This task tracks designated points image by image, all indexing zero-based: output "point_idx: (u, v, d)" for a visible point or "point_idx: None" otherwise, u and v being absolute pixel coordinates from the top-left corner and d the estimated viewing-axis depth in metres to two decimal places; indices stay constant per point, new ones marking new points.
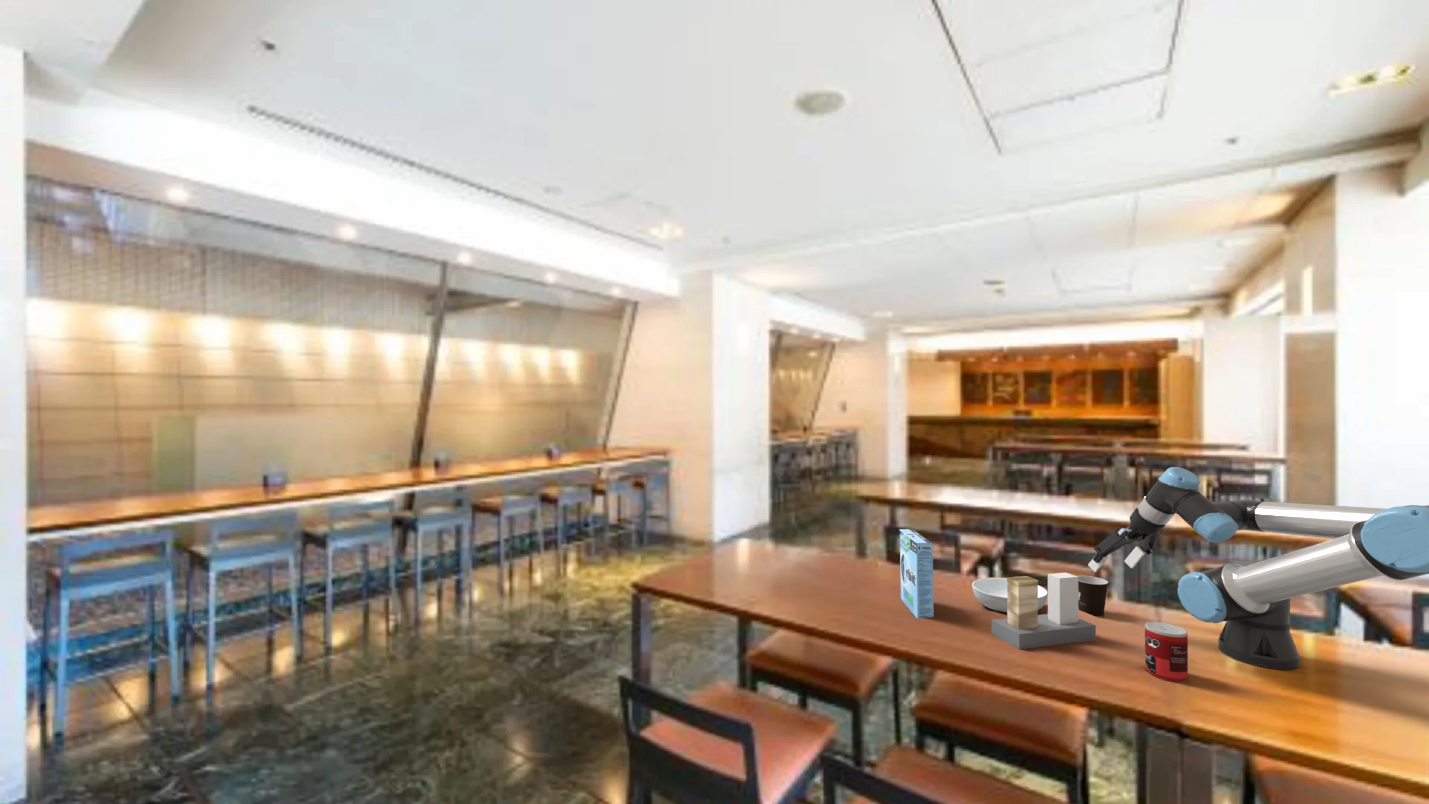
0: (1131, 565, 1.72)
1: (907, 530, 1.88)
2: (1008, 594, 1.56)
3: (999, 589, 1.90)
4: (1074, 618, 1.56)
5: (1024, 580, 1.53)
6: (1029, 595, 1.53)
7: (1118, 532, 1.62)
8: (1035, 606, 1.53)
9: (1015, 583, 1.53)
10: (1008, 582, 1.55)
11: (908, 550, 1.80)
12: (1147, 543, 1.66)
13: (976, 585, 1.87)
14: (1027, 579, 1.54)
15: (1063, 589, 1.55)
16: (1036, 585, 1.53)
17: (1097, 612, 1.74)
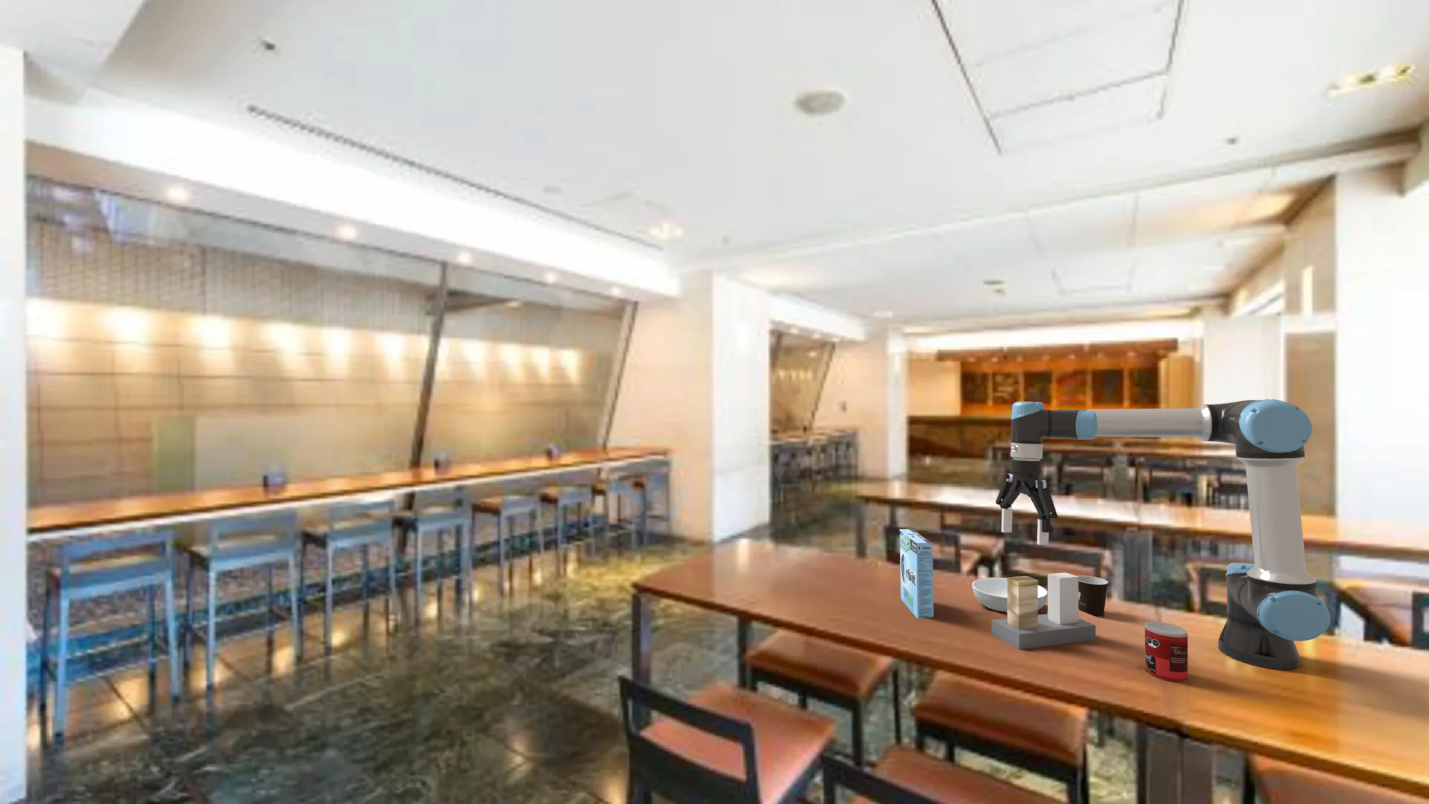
0: (1010, 529, 1.63)
1: (907, 530, 1.88)
2: (1008, 594, 1.56)
3: (999, 589, 1.90)
4: (1074, 618, 1.56)
5: (1024, 580, 1.53)
6: (1029, 595, 1.53)
7: (1043, 486, 1.49)
8: (1035, 606, 1.53)
9: (1015, 583, 1.53)
10: (1008, 582, 1.55)
11: (908, 550, 1.80)
12: None
13: (976, 585, 1.87)
14: (1027, 579, 1.54)
15: (1063, 589, 1.55)
16: (1036, 585, 1.53)
17: (1097, 612, 1.74)
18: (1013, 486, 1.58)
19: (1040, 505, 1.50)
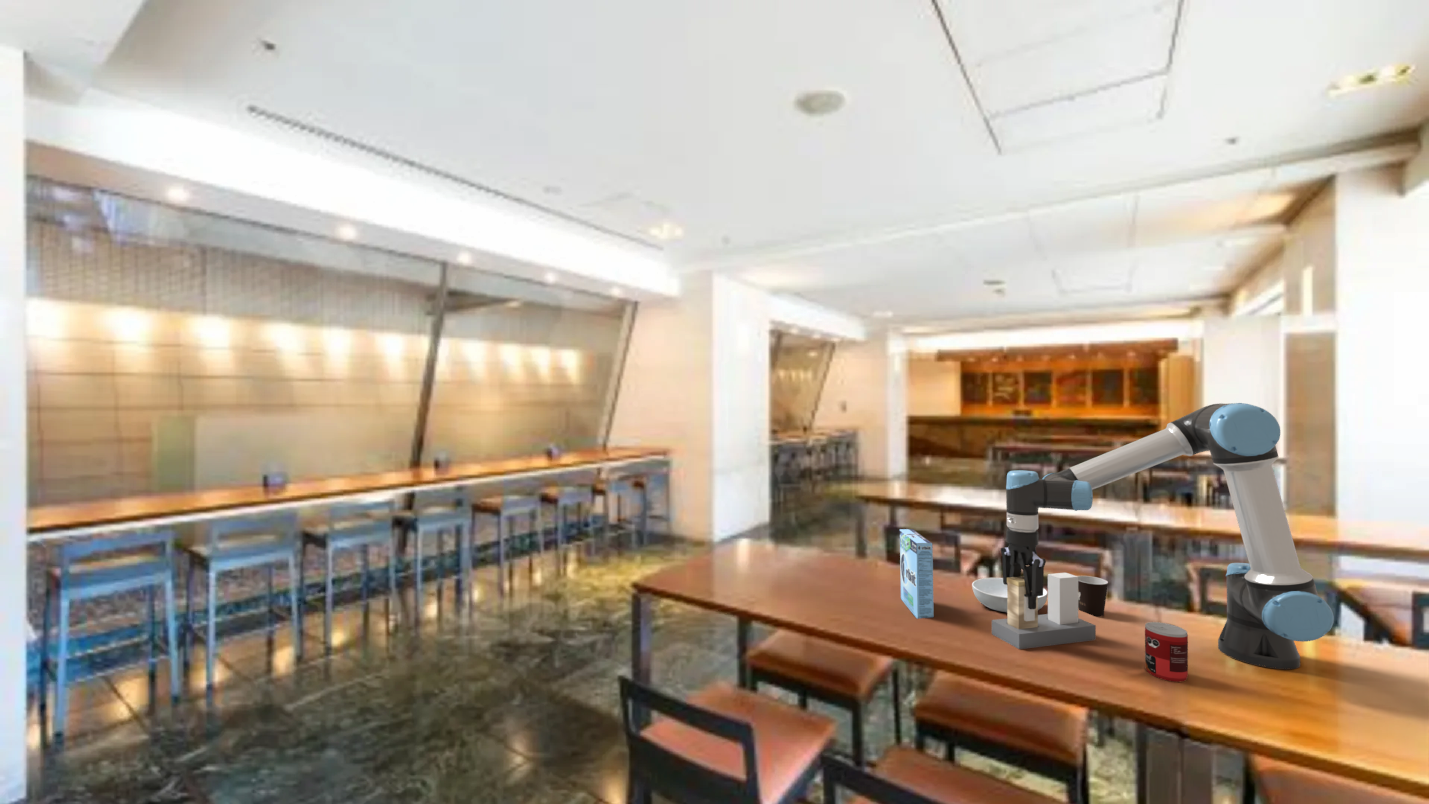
0: None
1: (907, 530, 1.88)
2: (1008, 594, 1.56)
3: (999, 589, 1.90)
4: (1074, 618, 1.56)
5: None
6: None
7: (1039, 566, 1.49)
8: None
9: (1015, 583, 1.53)
10: (1008, 582, 1.55)
11: (908, 550, 1.80)
12: None
13: (976, 585, 1.87)
14: None
15: (1063, 589, 1.55)
16: None
17: (1097, 612, 1.74)
18: (1012, 558, 1.56)
19: (1030, 582, 1.51)
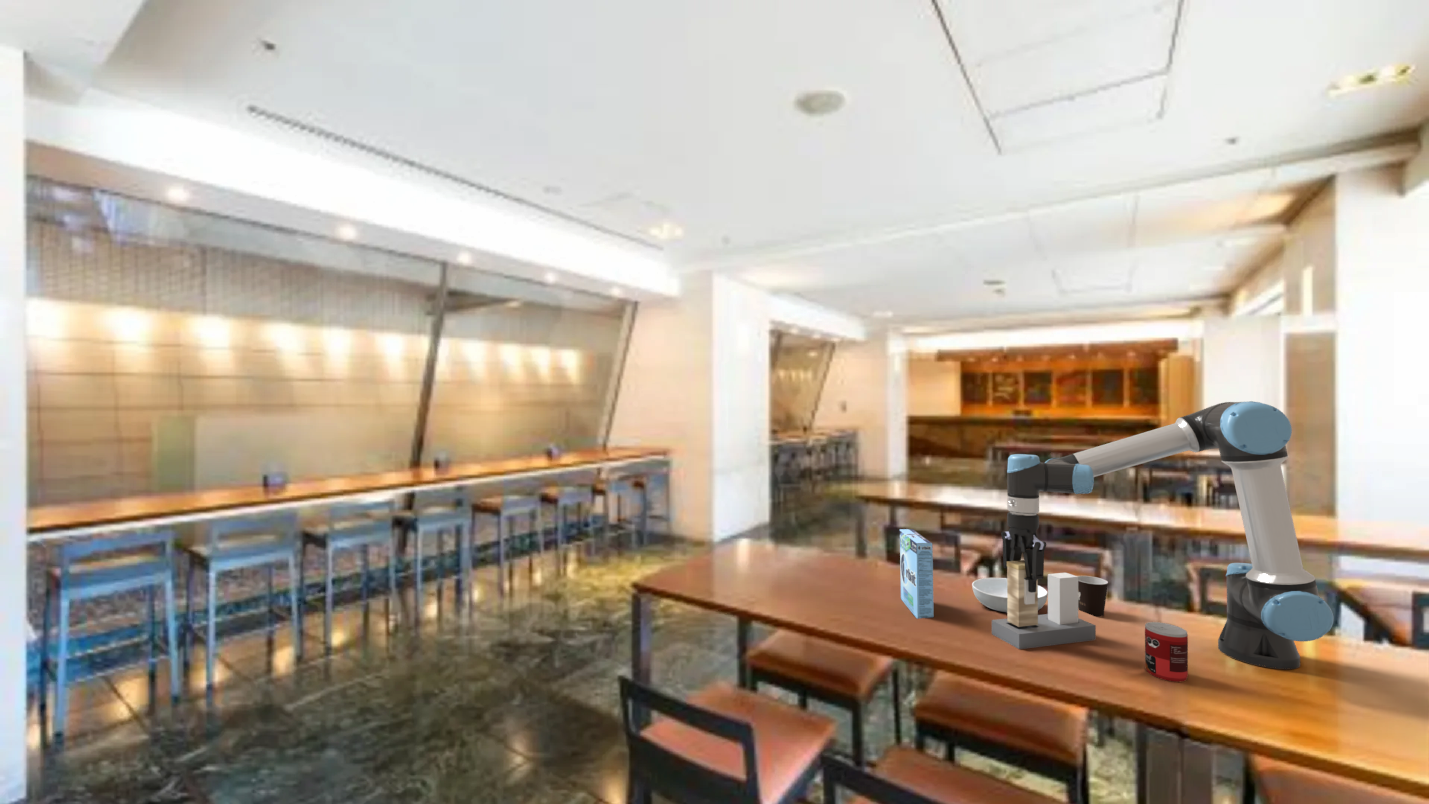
0: None
1: (907, 530, 1.88)
2: (1008, 578, 1.56)
3: (999, 589, 1.90)
4: (1074, 618, 1.56)
5: (1024, 564, 1.53)
6: None
7: (1039, 548, 1.49)
8: None
9: (1015, 567, 1.53)
10: (1008, 566, 1.55)
11: (908, 550, 1.80)
12: None
13: (976, 585, 1.87)
14: None
15: (1063, 589, 1.55)
16: None
17: (1097, 612, 1.74)
18: (1012, 542, 1.56)
19: (1030, 565, 1.51)
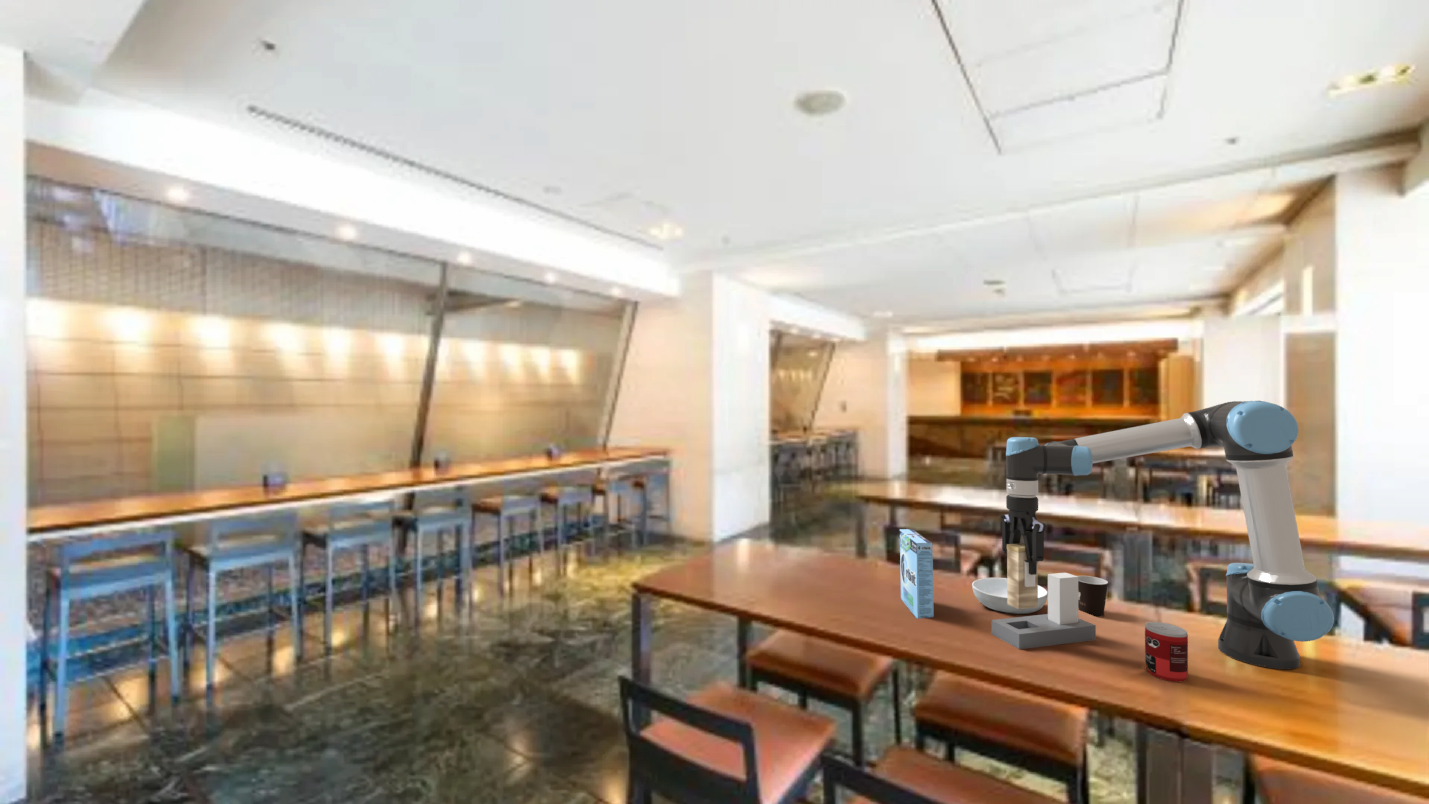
0: None
1: (907, 530, 1.88)
2: (1008, 561, 1.56)
3: (999, 589, 1.90)
4: (1074, 618, 1.56)
5: (1024, 546, 1.53)
6: None
7: (1039, 530, 1.49)
8: None
9: (1015, 549, 1.53)
10: (1008, 549, 1.55)
11: (908, 550, 1.80)
12: None
13: (976, 585, 1.87)
14: None
15: (1063, 589, 1.55)
16: None
17: (1097, 612, 1.74)
18: (1012, 524, 1.56)
19: (1030, 548, 1.51)
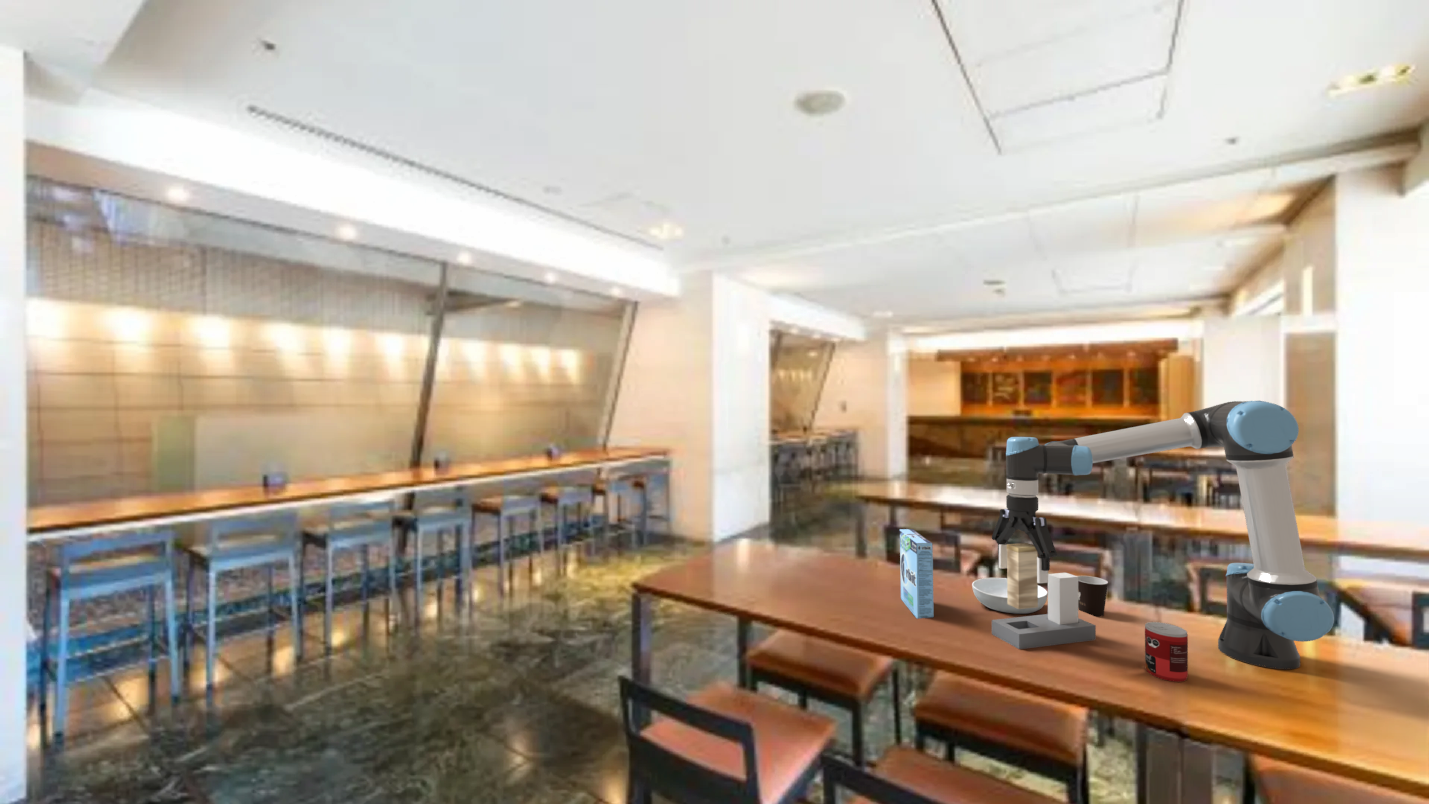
0: None
1: (907, 530, 1.88)
2: (1008, 561, 1.56)
3: (999, 589, 1.90)
4: (1074, 618, 1.56)
5: (1024, 546, 1.53)
6: (1029, 561, 1.53)
7: (1041, 524, 1.48)
8: (1035, 572, 1.53)
9: (1015, 549, 1.53)
10: (1008, 549, 1.55)
11: (908, 550, 1.80)
12: None
13: (976, 585, 1.87)
14: (1027, 545, 1.54)
15: (1063, 589, 1.55)
16: (1036, 551, 1.53)
17: (1097, 612, 1.74)
18: (1010, 522, 1.57)
19: (1039, 543, 1.49)
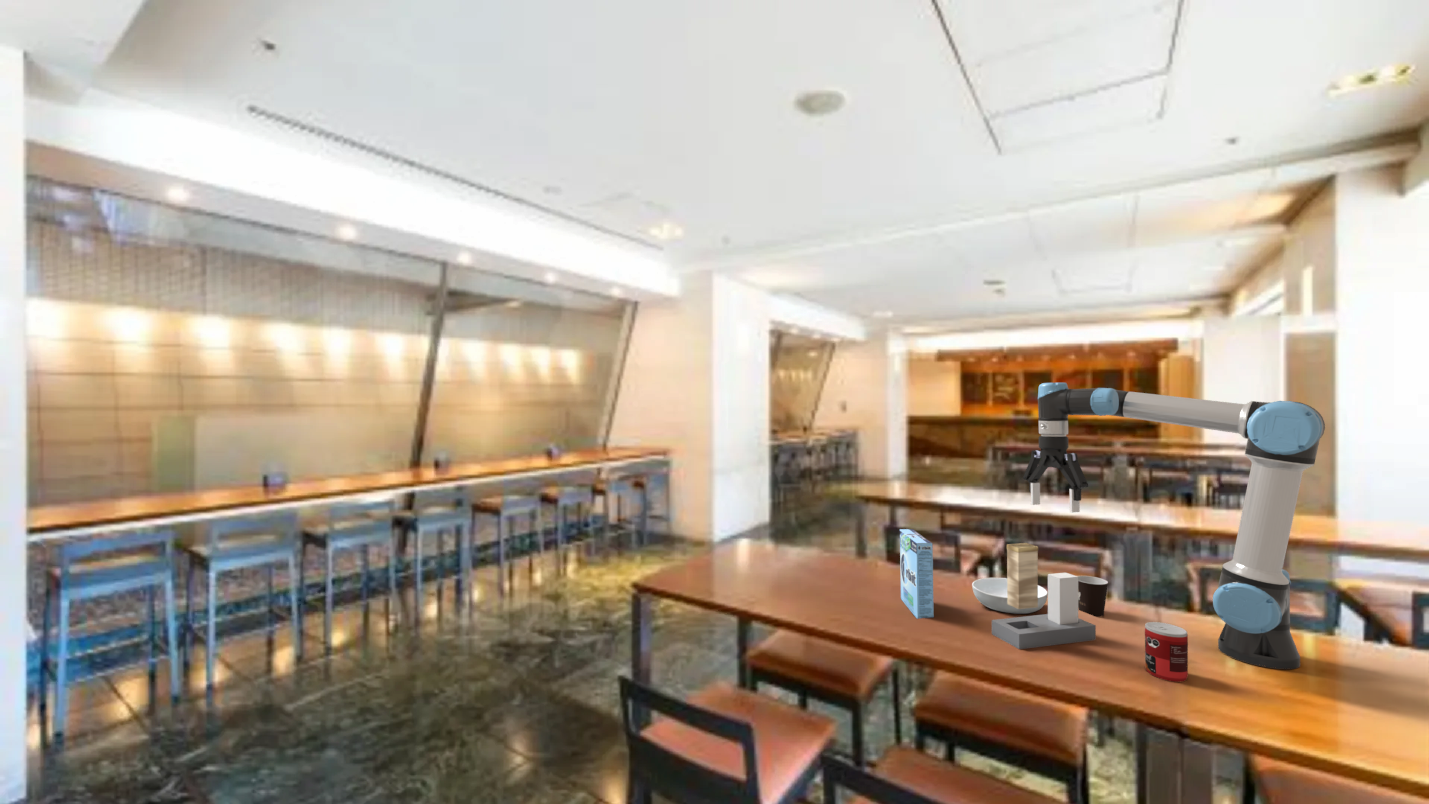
0: (1039, 501, 1.76)
1: (907, 530, 1.88)
2: (1008, 561, 1.56)
3: (999, 589, 1.90)
4: (1074, 618, 1.56)
5: (1024, 546, 1.53)
6: (1029, 561, 1.53)
7: (1073, 459, 1.63)
8: (1035, 572, 1.53)
9: (1015, 549, 1.53)
10: (1008, 549, 1.55)
11: (908, 550, 1.80)
12: None
13: (976, 585, 1.87)
14: (1027, 545, 1.54)
15: (1063, 589, 1.55)
16: (1036, 551, 1.53)
17: (1097, 612, 1.74)
18: (1042, 461, 1.72)
19: (1071, 476, 1.64)
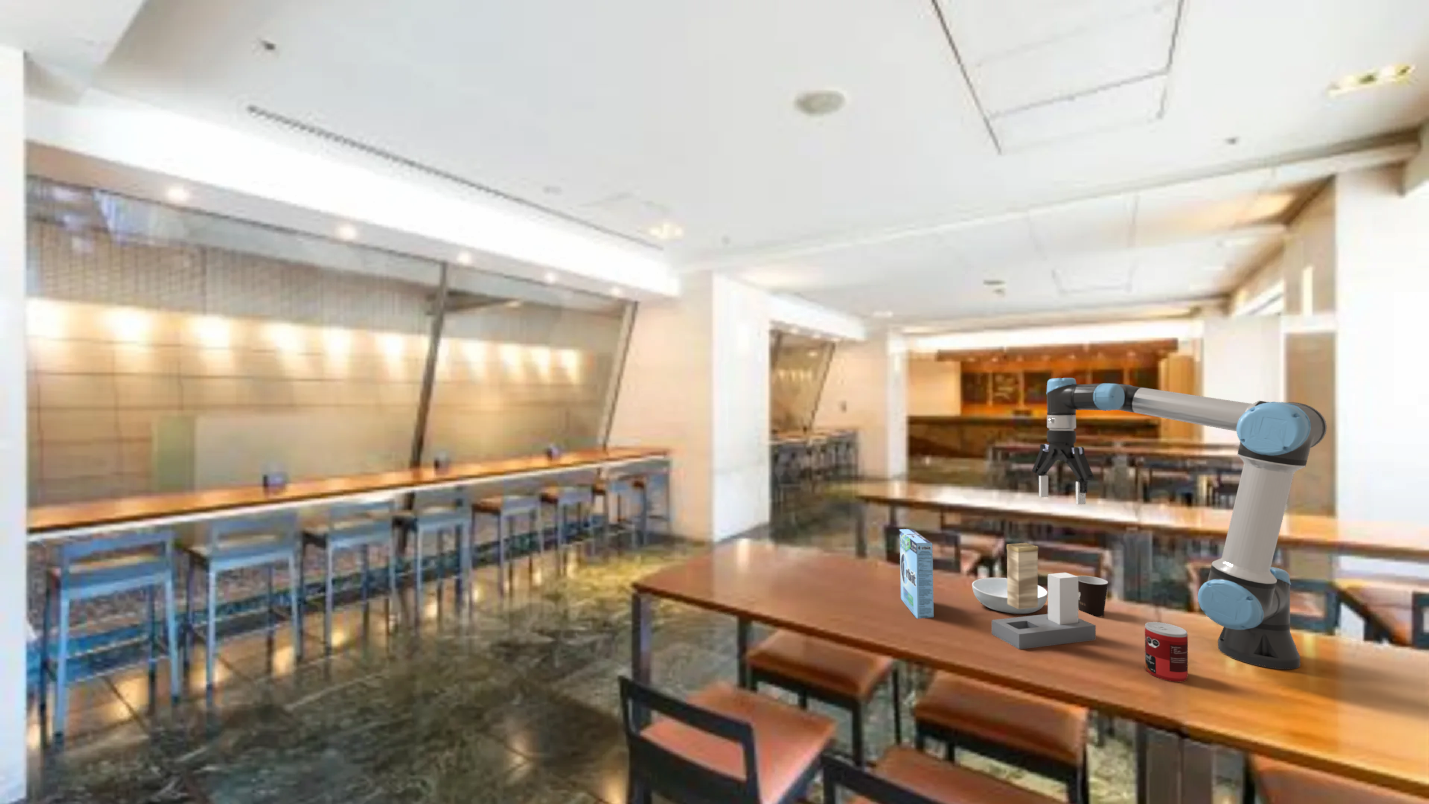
0: (1047, 494, 1.81)
1: (907, 530, 1.88)
2: (1008, 561, 1.56)
3: (999, 589, 1.90)
4: (1074, 618, 1.56)
5: (1024, 546, 1.53)
6: (1029, 561, 1.53)
7: (1079, 452, 1.68)
8: (1035, 572, 1.53)
9: (1015, 549, 1.53)
10: (1008, 549, 1.55)
11: (908, 550, 1.80)
12: None
13: (976, 585, 1.87)
14: (1027, 545, 1.54)
15: (1063, 589, 1.55)
16: (1036, 551, 1.53)
17: (1097, 612, 1.74)
18: (1050, 454, 1.77)
19: (1077, 469, 1.69)
